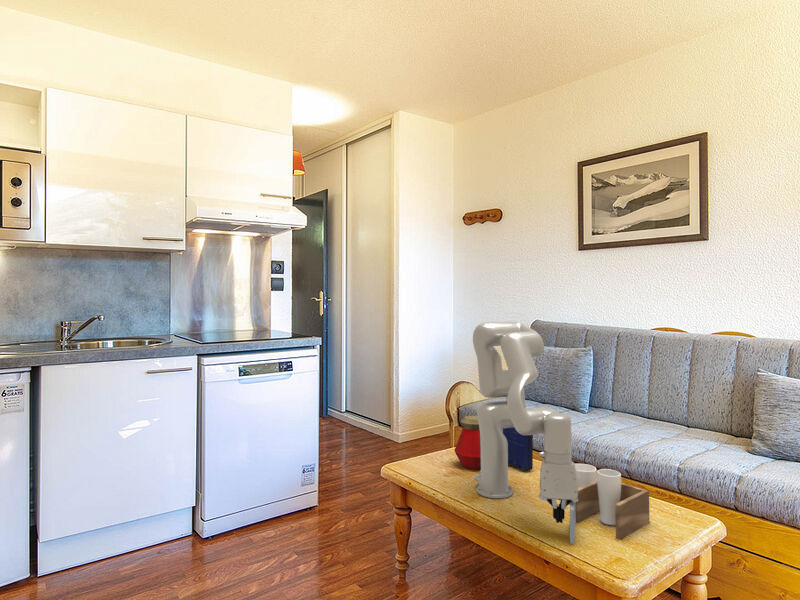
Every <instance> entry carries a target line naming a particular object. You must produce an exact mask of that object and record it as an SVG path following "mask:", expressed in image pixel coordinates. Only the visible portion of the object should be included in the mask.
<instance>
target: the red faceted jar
mask: <svg viewBox="0 0 800 600" xmlns="http://www.w3.org/2000/svg"><path fill="white" fill-rule="evenodd" d="M460 423H461V425H462V429H461V432H460V434H459V437H458V440H457V442H456V445H455V446H454V447H455V448H454V453H455V455H456V457H457V458H458V461H459V463H460V465H461V466H462V467H463V468H465V469H468V470H472V471H479V470H480V471H481V447H480V429H479V423H478V418H477V415H466V416H464V417H463V418H462V419H461V420H460Z"/></svg>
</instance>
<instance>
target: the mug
mask: <svg viewBox="0 0 800 600" xmlns="http://www.w3.org/2000/svg"><path fill="white" fill-rule="evenodd" d="M575 467H576V473H577V484H578V488H580V487H583V486H585V485H588V484H590V483H593V482H595V481H597V471H598V470H597V468H596V466H594V465H591V464H586V463H575Z"/></svg>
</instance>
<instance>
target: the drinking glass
mask: <svg viewBox="0 0 800 600" xmlns="http://www.w3.org/2000/svg"><path fill="white" fill-rule="evenodd" d="M621 483H622V474H621V472H620V471H617V470H615V469H611V468H601V469H598V470H597V489H598V499H599V509H600V512H599V520H600V522H601V523H602V524H604V525H608V526H616V517H615V504H617V503H619V502H620V498H621Z"/></svg>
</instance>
